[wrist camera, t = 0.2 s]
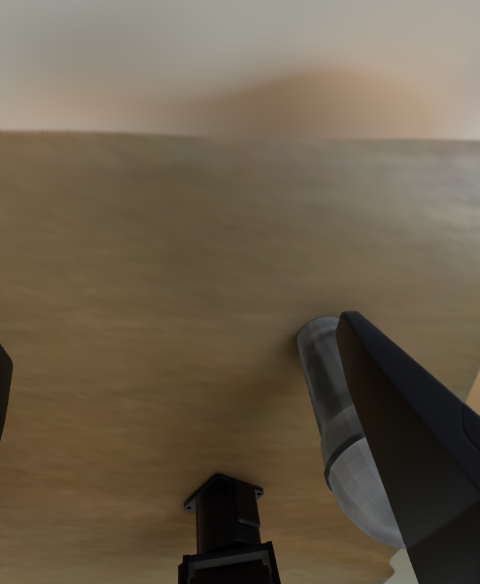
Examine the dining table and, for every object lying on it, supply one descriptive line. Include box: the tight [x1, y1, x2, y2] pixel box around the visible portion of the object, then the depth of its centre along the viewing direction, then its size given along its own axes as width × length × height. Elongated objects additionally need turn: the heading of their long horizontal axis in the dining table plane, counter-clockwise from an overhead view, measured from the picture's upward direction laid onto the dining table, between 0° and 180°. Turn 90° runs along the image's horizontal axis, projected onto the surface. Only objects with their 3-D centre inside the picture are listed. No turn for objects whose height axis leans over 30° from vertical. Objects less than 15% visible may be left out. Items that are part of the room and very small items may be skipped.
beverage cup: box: [297, 316, 407, 549], centre depth 22 cm, size 7×7×20 cm
